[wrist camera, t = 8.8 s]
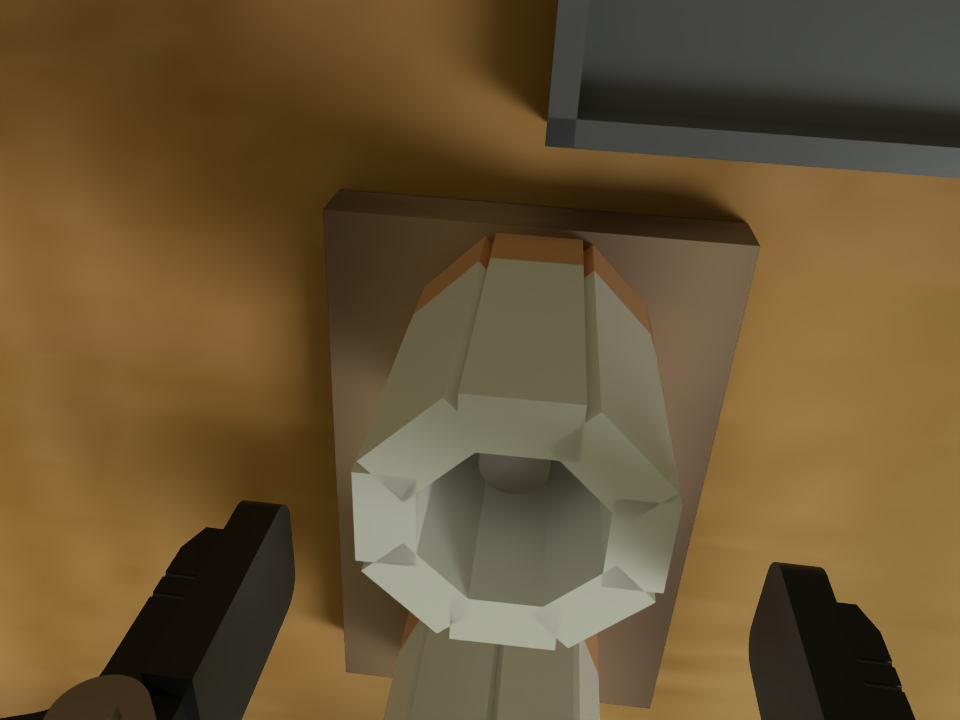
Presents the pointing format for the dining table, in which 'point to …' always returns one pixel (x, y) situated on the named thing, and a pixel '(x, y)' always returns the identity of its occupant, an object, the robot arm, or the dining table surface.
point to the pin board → (692, 424)
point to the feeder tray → (762, 81)
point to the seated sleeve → (491, 679)
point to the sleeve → (521, 451)
